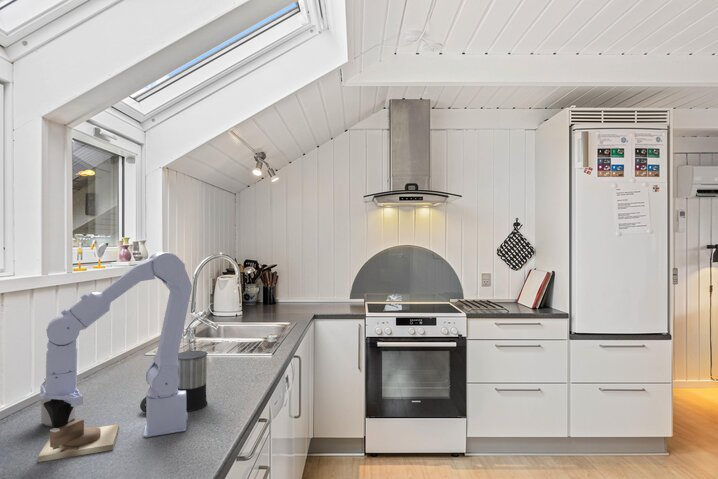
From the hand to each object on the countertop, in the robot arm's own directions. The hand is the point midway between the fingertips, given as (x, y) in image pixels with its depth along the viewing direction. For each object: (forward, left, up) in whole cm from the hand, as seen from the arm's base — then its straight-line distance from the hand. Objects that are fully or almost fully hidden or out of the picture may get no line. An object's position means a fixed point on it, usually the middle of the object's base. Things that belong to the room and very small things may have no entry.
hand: (60, 432), depth 97 cm
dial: (-3, -1, -3) cm, 4 cm away
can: (+4, -20, -5) cm, 21 cm away
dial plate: (-4, -3, -5) cm, 6 cm away
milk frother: (-24, -18, -5) cm, 30 cm away
